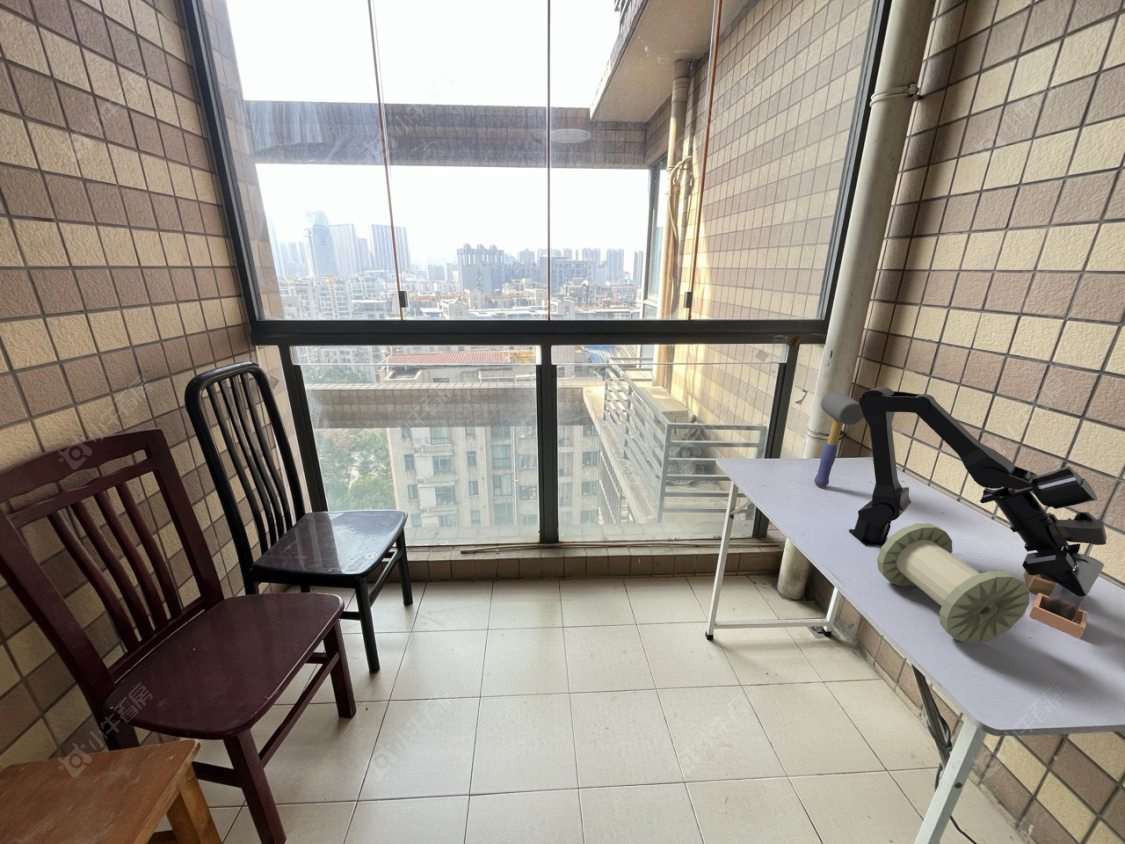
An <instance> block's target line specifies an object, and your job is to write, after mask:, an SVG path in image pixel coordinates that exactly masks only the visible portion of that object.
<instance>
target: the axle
mask: <svg viewBox="0 0 1125 844" xmlns="http://www.w3.org/2000/svg"><path fill="white" fill-rule="evenodd" d="M1071 557H1072V559H1076V558H1077V563H1076V566H1075V567H1074V568H1073V570H1074V572H1075V574H1076V576H1077V577H1078V579H1079V581H1080V583H1081V585H1082V587H1083V589H1084V591H1085V594H1086V595H1085V596H1077V595H1075V594H1074V593H1072V592H1071V591H1069V590H1068V589H1066V588H1064V587H1063V586H1061V585H1060V584H1058V583H1056V585H1055V587H1054V589H1053V591H1052V593H1051V594H1050V596H1049V598H1048V600H1047V602H1046V604H1045V605H1044V607H1042V609H1044V610H1047V611H1049V612H1051V613H1054V614H1056V615H1058V616H1061V617H1063V618H1065V619H1068V620H1070V621H1072V622H1073V621H1074V620H1073V619H1074V617H1075V615H1076V613H1077V612H1078V610H1079V609H1080V608H1081V606H1082V605H1083V604H1084V602H1085V599H1086V598H1087V596H1088V594H1089V593H1090V591H1091V589H1092V588H1093V586H1094V584H1095V582H1096V581H1097V579H1098V577H1099V575H1100V573H1102V571H1103V569H1104V567H1105V564H1104V563H1103V562H1102V561H1100V560H1099V559H1097V558H1095V557H1093V556H1089V555H1087V554H1084V553H1079V552H1078V553H1073V554H1072V556H1071Z"/></svg>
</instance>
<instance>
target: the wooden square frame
mask: <svg viewBox="0 0 1125 844" xmlns="http://www.w3.org/2000/svg"><path fill="white" fill-rule="evenodd" d="M1022 576H1023V581H1024V583H1025V584H1026V586H1027V587H1028V589H1029V591H1030V594H1033V595H1036V596H1037V595H1038V593H1041V594H1044V595H1046V596H1048V597H1049V596H1050V594H1051V593H1052V591H1053V589H1054V587H1055V585H1056V583H1057V582H1055V581H1053V580H1052V579H1050V578H1048V577H1047V576H1045V575H1043V574H1039V575H1029V574H1028V573H1027V572H1026V570H1025V569H1024V572H1023V573H1022Z"/></svg>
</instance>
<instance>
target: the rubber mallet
mask: <svg viewBox="0 0 1125 844" xmlns="http://www.w3.org/2000/svg"><path fill="white" fill-rule="evenodd" d="M820 406H821V409H822V410H823V412H825V413H826V414H827V415H828V416H829V417H830V418H832V419H833V421H832V425H831V428H830V432H829V435H828V439H827V441H826V443H825V445H824V447H823V450H822V451H821V452H822V453H821V454H820V462H819V466H818V469H817V474H816V476H815V477H814V479H813V480H814V481H813V482H814V484H815V486H817V487H818V488H826V487H827V486H828V485H829V484H830V475H831V471H832V467H833V466H834V463H835V461H836V458H837V451H838V442H839V438H840V434H841V431H842V426H843V425H847V426H853V425H855V424H858V423H859V422H861V421H862V419H863V418H864V417H863V415H862V412H861V409H860V406H859V401H856V400H855V399H854V398H852V397H850V396H848V395H846V394H844V393H840V392H837V391H833V392H832V391H831V392H828V393H827V394H825V395H824V396H823V397H822V398H821V401H820Z"/></svg>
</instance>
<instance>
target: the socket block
mask: <svg viewBox="0 0 1125 844" xmlns="http://www.w3.org/2000/svg"><path fill="white" fill-rule="evenodd" d="M1048 598H1049V597H1048V596H1046V595H1044V594H1041V593H1038V595H1036V597H1035V598H1034V601H1033V603H1032V606H1031V609H1030V612H1029V614H1028V615H1029V616H1028V617H1029V618H1031V619H1034V620H1036V621H1038V622H1041V623H1043V624H1045V625H1047V626H1050V627H1052V628H1054V629H1056V630H1058V631H1061V632H1063V633H1066V634H1068V635H1070V636H1073V638H1074V637H1075V638H1077V639H1081V637H1082V635H1083V633H1084V632H1085V630H1086V627H1087V620H1088V614H1089V612H1087V611H1086V610H1082V609H1080V608H1079V610H1078V612H1077V613H1076V615H1075V617H1074V619H1073V620H1072V621H1070V620H1068V619H1065V618H1063V617H1061V616H1058V615H1056V614H1054V613H1051V612H1049V611H1047V610H1044V609H1043V607H1044V605H1045V604H1046V602H1047V600H1048Z"/></svg>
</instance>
